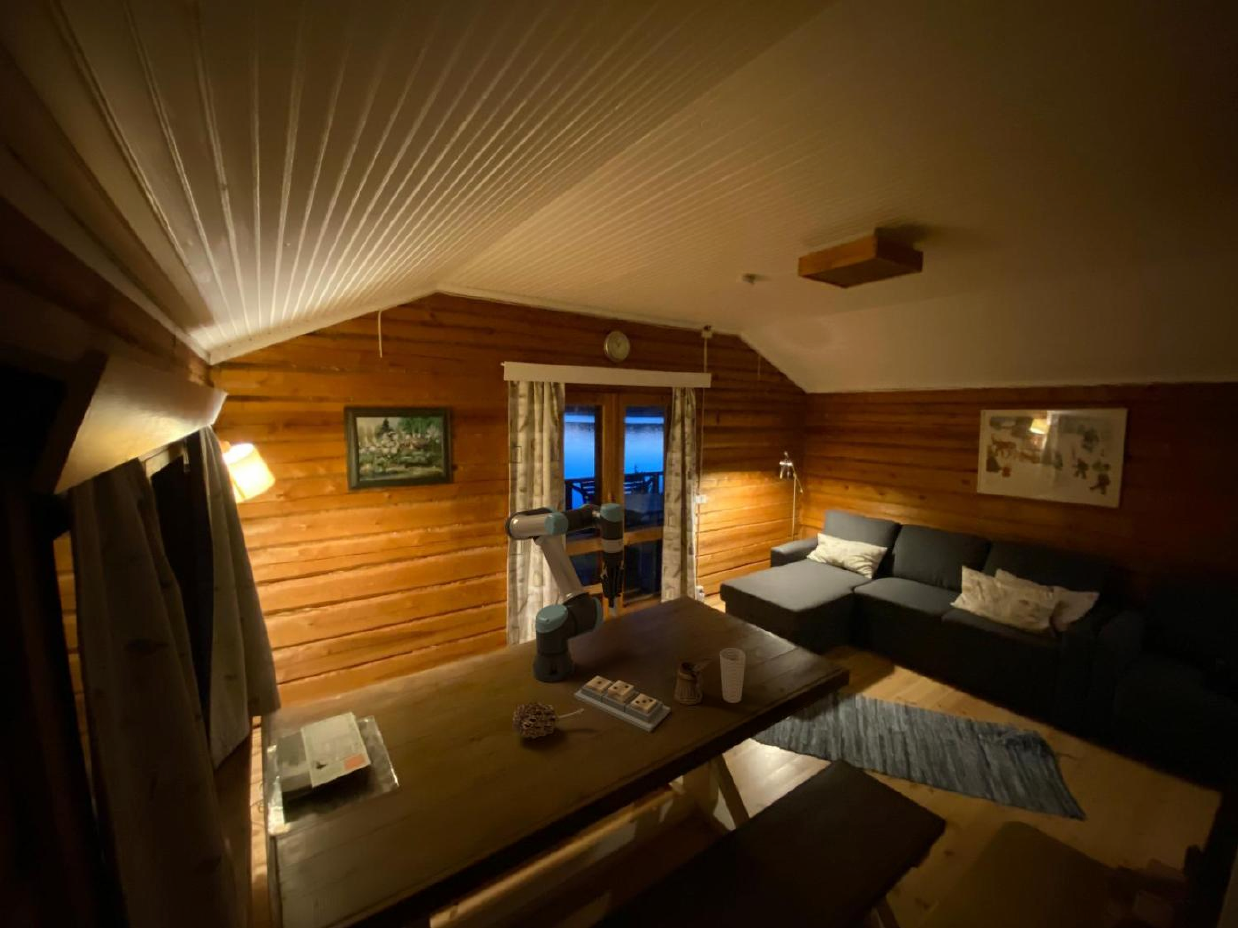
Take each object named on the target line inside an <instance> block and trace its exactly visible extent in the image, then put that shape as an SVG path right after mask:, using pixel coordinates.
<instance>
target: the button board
mask: <svg viewBox="0 0 1238 928" xmlns="http://www.w3.org/2000/svg"><path fill="white" fill-rule="evenodd" d="M597 676H598V675H596V676H595V677H597ZM595 677H593V678H591V680H593V679H594V678H595ZM591 680H590V681H591ZM590 681H588V682H587V683H589V682H590ZM587 683H585V684H584V685H583V686H581V687H580V689H579V690H578V691H576V692H575V693H573V698H575V699H576V700H579V701H580V702H583V703H585V704H587V705H589V706H592V707H594V708H596V709H598V710H600V711H602V712H605V713H606V714H608V715H611V716H613V717H616V718H618V719H620V720H622V721H624V722H626V723H629V724H631V725H633V726H634V727H637V728H640V729H642V730H643V731H646V732H649V733H651V732H652V731H653V730H654V729H655V728H656V727H657V726H658V725H659V723H661V721H663V720H664V719H665V717H667V716H668V714H669V713H671V707H668V706H666V705H664V703H663V702H662V701H660V700H658V699H656V700H657V705H656V706H655V707H654V708H653V709H652V710H651V711H650V712H649V713H648V714H646V713H644V712H642V711H639V710H637V709H635V708H632V707H631V702H632V701H634V700H635V699H636V698H637V697H638V696H639V695H640V694H642V693H640V692H638V691H636V690H634V695H633V696H631V697H630V698H629V699H628V700H627V701H626V702H624V703H621V702H619V701H616V700H614V699H612V698H609V697H608V689H606V690H605V691H604V692H603V693H601V694H600V693H598V692H596V691H593V690H591V689H589V688H587ZM615 683H616V682H615V681H612V685H613V684H615ZM612 685H611V686H612ZM611 686H610V687H611ZM610 687H609V688H610Z"/></svg>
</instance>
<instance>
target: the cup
mask: <svg viewBox="0 0 1238 928" xmlns="http://www.w3.org/2000/svg"><path fill="white" fill-rule="evenodd" d="M719 662H720V675H721V690H722V692H721V693H722V698H723V700H724V701H726V702H728V703H732V704H735V703H739V702H740V701H741V700H742V695H743V686H744V679H745V678H744V677H745V669H746V662H747V654H746V652H745V651H743V650H742V649H740V648H736V647H725V648H722V649H721V650H720V651H719Z"/></svg>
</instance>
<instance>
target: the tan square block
mask: <svg viewBox="0 0 1238 928" xmlns="http://www.w3.org/2000/svg"><path fill="white" fill-rule="evenodd" d="M596 676H597V677H596ZM596 676H594V677H593V678H594V679H593V678H592V679H593V680H592V679H591V680H590V682H589V681H588V682H589V683H588V682H586V684H587V688H589V689H591V690H593V691H596V692H598V693H600V694H601V693H603V692H604V691H605V690H606V689H608V688H609V687H610V686H611V685H612V682H613V681H612V680H610V679H607V678H604V677H602V676H599V675H596Z"/></svg>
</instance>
